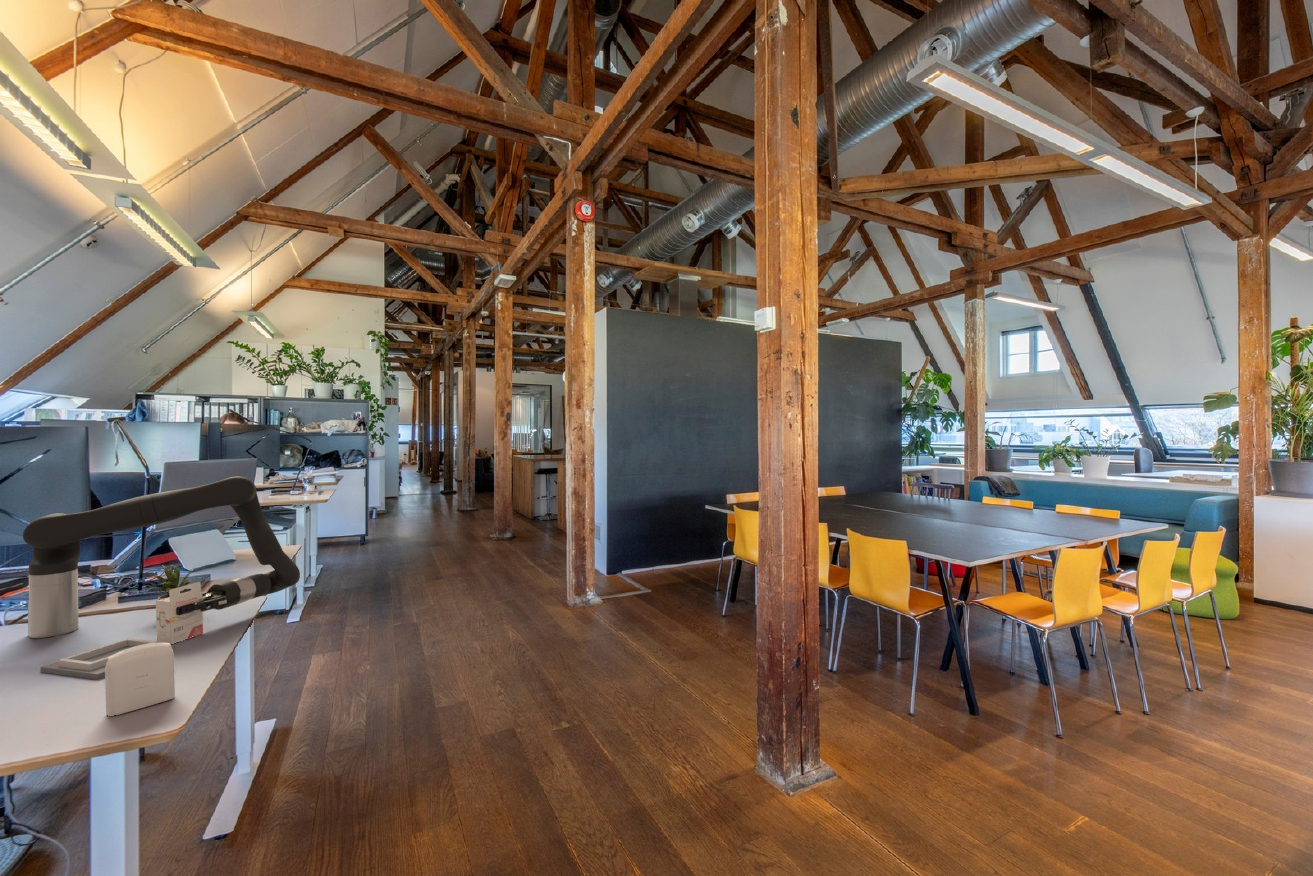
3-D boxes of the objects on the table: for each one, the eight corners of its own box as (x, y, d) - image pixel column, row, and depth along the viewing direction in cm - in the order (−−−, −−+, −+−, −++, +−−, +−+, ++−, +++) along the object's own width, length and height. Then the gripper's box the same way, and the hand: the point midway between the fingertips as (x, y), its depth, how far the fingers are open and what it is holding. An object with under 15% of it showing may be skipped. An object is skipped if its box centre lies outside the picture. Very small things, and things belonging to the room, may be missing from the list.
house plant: (127, 620, 162) (126, 565, 161) (182, 606, 174) (181, 556, 174) (154, 626, 156) (154, 570, 156) (209, 611, 169) (208, 559, 169)
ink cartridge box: (189, 632, 151) (188, 580, 151) (203, 634, 150) (203, 581, 150) (155, 644, 143) (154, 589, 142) (170, 645, 142) (169, 590, 141)
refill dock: (40, 671, 126) (40, 660, 126) (121, 645, 142) (121, 635, 142) (97, 679, 122) (97, 667, 122) (174, 651, 138) (174, 641, 138)
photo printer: (106, 720, 105) (105, 656, 105) (104, 712, 108) (103, 651, 107) (176, 700, 113) (176, 641, 113) (172, 693, 115) (172, 636, 115)
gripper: (213, 578, 162) (148, 595, 145) (251, 581, 159) (189, 598, 142) (213, 603, 162) (148, 622, 145) (251, 607, 159) (189, 627, 142)
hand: (169, 610), depth 144 cm, fingers closed on ink cartridge box, 5 cm apart
